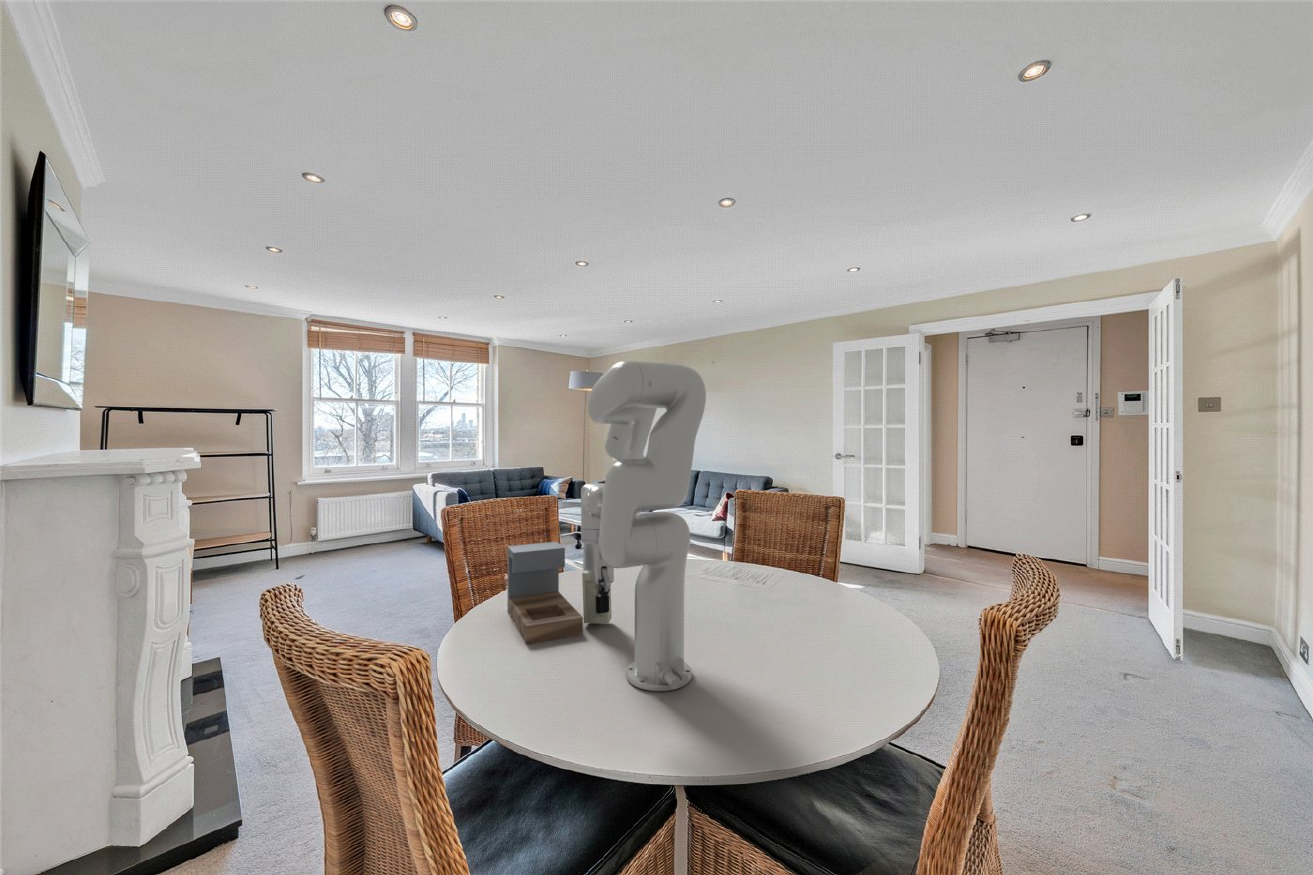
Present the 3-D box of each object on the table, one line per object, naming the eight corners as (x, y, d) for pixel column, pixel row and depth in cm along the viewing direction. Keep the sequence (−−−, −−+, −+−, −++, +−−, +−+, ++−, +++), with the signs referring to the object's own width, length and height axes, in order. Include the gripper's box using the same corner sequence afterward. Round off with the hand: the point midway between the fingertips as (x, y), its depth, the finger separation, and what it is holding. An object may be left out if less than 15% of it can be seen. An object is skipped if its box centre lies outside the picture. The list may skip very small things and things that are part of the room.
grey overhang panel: (564, 613, 136) (564, 547, 135) (513, 621, 130) (513, 552, 130) (556, 604, 143) (556, 541, 143) (507, 611, 137) (507, 546, 137)
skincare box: (611, 618, 130) (611, 568, 130) (608, 624, 126) (608, 572, 126) (586, 617, 131) (585, 568, 131) (582, 623, 126) (581, 572, 126)
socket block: (582, 634, 122) (582, 617, 122) (526, 644, 116) (526, 626, 116) (558, 606, 141) (558, 591, 141) (508, 613, 135) (508, 598, 135)
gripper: (624, 539, 122) (625, 616, 122) (599, 528, 138) (599, 596, 138) (593, 542, 119) (594, 621, 119) (571, 530, 134) (571, 600, 134)
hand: (597, 607), depth 128 cm, fingers closed on skincare box, 6 cm apart
